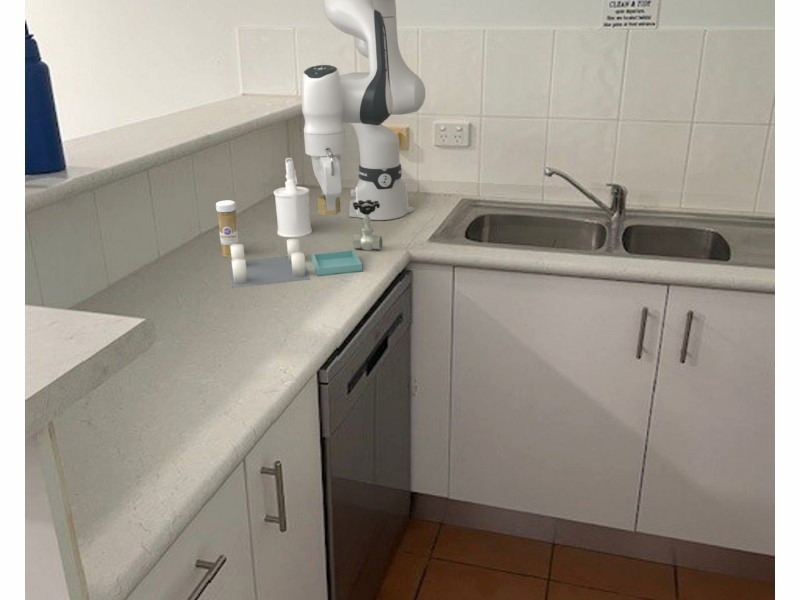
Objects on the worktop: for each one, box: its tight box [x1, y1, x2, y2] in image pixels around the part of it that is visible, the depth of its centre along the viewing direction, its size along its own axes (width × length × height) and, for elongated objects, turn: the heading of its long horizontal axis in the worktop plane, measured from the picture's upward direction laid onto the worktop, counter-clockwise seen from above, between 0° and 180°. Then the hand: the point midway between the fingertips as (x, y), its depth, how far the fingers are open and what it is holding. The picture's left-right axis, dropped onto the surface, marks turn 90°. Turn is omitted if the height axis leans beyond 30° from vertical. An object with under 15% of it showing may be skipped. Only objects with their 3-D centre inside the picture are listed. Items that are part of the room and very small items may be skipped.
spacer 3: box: [286, 237, 301, 262], centre depth 171 cm, size 3×3×5 cm
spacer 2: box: [231, 258, 248, 284], centre depth 159 cm, size 3×3×5 cm
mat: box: [229, 255, 311, 289], centre depth 166 cm, size 17×17×1 cm
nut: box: [316, 194, 341, 216], centre depth 162 cm, size 4×5×4 cm
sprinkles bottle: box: [215, 199, 240, 258], centre depth 175 cm, size 5×5×13 cm
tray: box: [311, 249, 363, 277], centre depth 168 cm, size 10×10×2 cm
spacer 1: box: [230, 243, 246, 261], centre depth 168 cm, size 3×3×5 cm
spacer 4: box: [291, 251, 307, 277], centre depth 162 cm, size 3×3×5 cm
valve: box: [352, 200, 383, 252], centre depth 177 cm, size 7×7×12 cm
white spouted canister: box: [273, 157, 313, 238], centre depth 189 cm, size 10×9×20 cm
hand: (329, 206), depth 162 cm, fingers closed on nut, 4 cm apart
